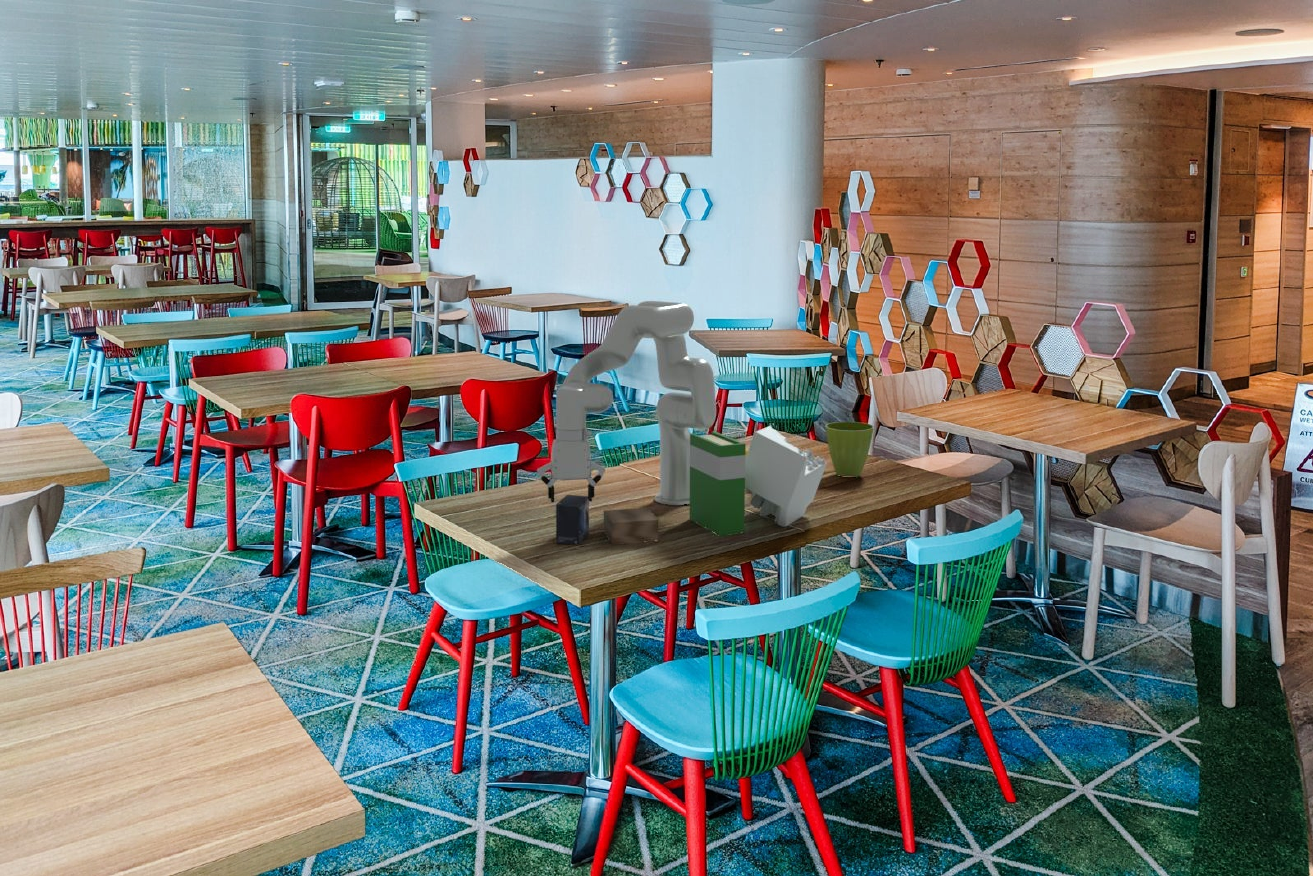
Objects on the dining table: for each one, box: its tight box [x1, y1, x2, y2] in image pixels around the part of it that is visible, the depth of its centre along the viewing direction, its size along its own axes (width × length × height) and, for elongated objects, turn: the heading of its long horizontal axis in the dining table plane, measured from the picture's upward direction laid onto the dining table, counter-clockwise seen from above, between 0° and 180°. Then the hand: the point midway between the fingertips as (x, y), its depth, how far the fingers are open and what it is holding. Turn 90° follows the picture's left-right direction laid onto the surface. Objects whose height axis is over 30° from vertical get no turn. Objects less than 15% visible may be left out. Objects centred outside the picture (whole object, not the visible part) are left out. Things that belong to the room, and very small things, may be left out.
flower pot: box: [825, 421, 874, 477], centre depth 365 cm, size 15×15×16 cm
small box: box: [555, 494, 590, 546], centre depth 298 cm, size 11×6×10 cm, turn 168°
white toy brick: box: [745, 425, 828, 528], centre depth 314 cm, size 20×16×25 cm
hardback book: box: [689, 430, 747, 537], centre depth 308 cm, size 18×7×24 cm, turn 24°
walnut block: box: [603, 507, 659, 545], centre depth 301 cm, size 12×12×6 cm
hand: (571, 500), depth 296 cm, fingers open, 9 cm apart
